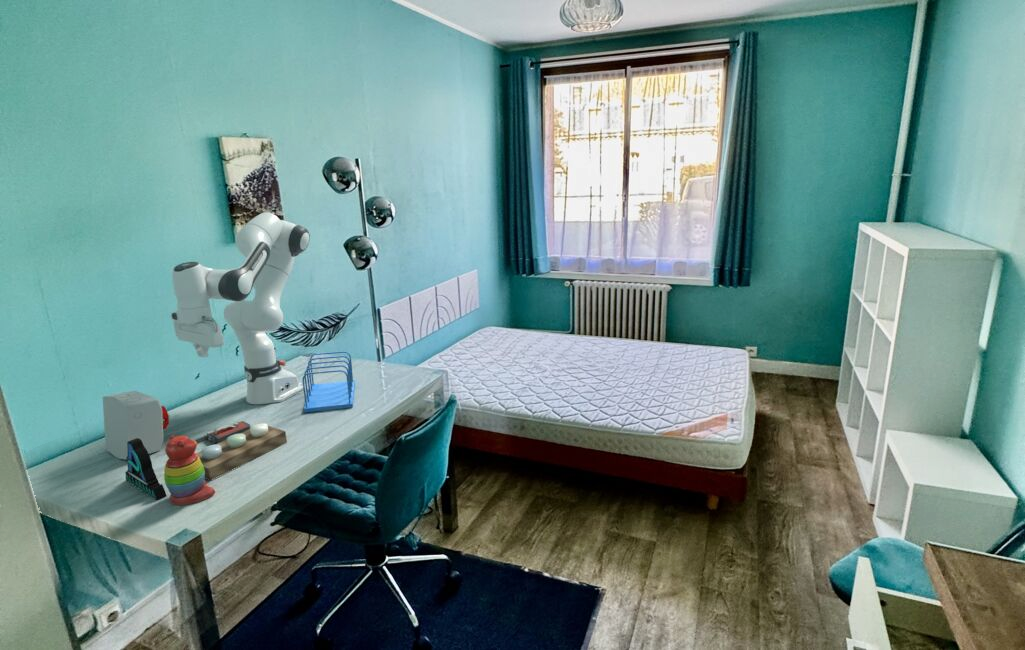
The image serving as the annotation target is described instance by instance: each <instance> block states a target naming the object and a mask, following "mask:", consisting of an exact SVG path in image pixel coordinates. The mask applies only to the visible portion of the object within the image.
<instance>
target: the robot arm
mask: <svg viewBox="0 0 1025 650" xmlns="http://www.w3.org/2000/svg"><path fill="white" fill-rule="evenodd" d="M310 237H311V235H310V232H309V230H308V229H307V228H306V227H304V226H302V225H300V224H296V223H292V222H290V221H287V220H283V219H280V218H279V217H278V216H277V215H275V214H274V213H272V212H268V211H267V212H262V213H261V212H260V213H259V214H258V215H256V216H254V217H253V218H251V219H250V220H249V221H248V222H247V223H246V224H245V225H244V226H243V227H242V228H241V229H240V230H239V231H238V232H237V234H236V236H235V245H236V248H237V249H238V251H239V252H240V253H241V254H242V256H244V257H245V259H244V261H243V262H242V263H241V265H240V266H239V267H236V268H232V269H217V268H212V267H206V266H204V265H203V264H201V263H199V261H198V262H197V261H188V262H187V261H186V262H183V263H179V264H177V265H176V266H174V267H173V269H172V274H171V276H172V287H173V291H174V292H173V293H174V295H175V297H176V300H177V303H176V304H177V305H176V308H177V310H175V311H173V312H171V313H170V318H171V320H172V321H173V328H174V329H173V330H174V332H175V336H176V338H177V339H178V340H179V341H183V342H187V343H190V344H193V345H192V346H193V348H194V350H196V354H197V357H201V358H207V357H209V352H208V351H209V349H210V348H213V349H215V348H218V347H222V346H223V345H224V343H225V342H224V341H225V340H224V336H223V333H222V328H221V326H220V324H219V322H217V321H216V320H215V318H214V317H213V314H212V308H211V304H210V303H211V302H210V299H213V300H214V299H215V300H228V301H230V302H229V303H227V304H226V305H225V306H224V307H225V308H224V309H223V319H224V320H225V322H226V323H227V324H228V325H229V326H230V327H231V329H232V330H233V332H234V333H235V335H236V337H237V340H238V341H239V344H240V347H241V351H242V356H243V361H244V366H243V369H244V374H245V375H244V376H245V379H246V387H247V388H246V398H245V402H246V403H248V404H251V405H266V404H272V403H280V402H283V401H285V400H288V399H290V398H291V397H293V396H294V395H296V394H298V393H300V392H303V391H304V390H303V382H299V379H298V377H297V375H296V374H295V373H293V372H291V371H289V370H286V369H284V368H282V367H285V366H286V364H287V362H286V360H277V358H276V351H275V345H274V342H273V341H272V339H271V338H269V336H268V335H267V332H275V331H277V330H278V329H280V328H281V327H282V325H283V322H284V313H283V311H282V309H281V298H282V295H283V294H282V293H283V291H284V289H285V286H286V285H287V282H288V280H289V278H290V275H291V273H292V270H293V267H294V264H295V261H296V257H297V256H299V255H300V254H302V253H304V252H305V251H306V250H307V248H308V246H309V244H310ZM253 289H254V297H253V299H252V300H246V299H247V298H248V296H250V294H251V293H252V290H253Z"/></svg>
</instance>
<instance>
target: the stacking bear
mask: <svg viewBox="0 0 1025 650" xmlns="http://www.w3.org/2000/svg"><path fill="white" fill-rule="evenodd" d="M194 440H195V439H190V438H189V437H188V436H186V435H177V436H175V435H173V434H172V435H171V436H170V437H169V440H168V441H167V443H165V447H164V452H165V454H166V456H167V458H168V459H167V460H166V463H165V464H164V465H165V466H164V473H163V480H164V483H165V487H166V488H167V489H168V492H169V493H170V496H169V502H170V503H171V504H173V505H175V506H184V505H190V504H195V503H199V502H202V501H204V499H205V500H207V499H209V498H211V497H214V495H215V494H216V490H215V489H214V488H213V487H212V486H210V485H207V481H206V479H205V471H204V467H203V464H202V463H201V460H200V458H199V457H198V455H197V454H196V453H197V452H195V451H196V450H197V447H198V442H196V441H194ZM214 493H215V494H214Z"/></svg>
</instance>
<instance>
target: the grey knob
mask: <svg viewBox="0 0 1025 650" xmlns="http://www.w3.org/2000/svg"><path fill="white" fill-rule="evenodd" d="M201 452H202V457H203V459H205V460H211V459H215V458H218V457H220V456H221V455H222V449H221V446H220V445H216V444H211V445H207V446H205V447H203V448H202V449H201Z"/></svg>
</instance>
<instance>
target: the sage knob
mask: <svg viewBox="0 0 1025 650" xmlns="http://www.w3.org/2000/svg"><path fill="white" fill-rule="evenodd" d="M227 444H228V447H229V448H237V447H241V446H243V445H245V444H246V437H245V434H234V435H231V436H229V437H228V438H227Z"/></svg>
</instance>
